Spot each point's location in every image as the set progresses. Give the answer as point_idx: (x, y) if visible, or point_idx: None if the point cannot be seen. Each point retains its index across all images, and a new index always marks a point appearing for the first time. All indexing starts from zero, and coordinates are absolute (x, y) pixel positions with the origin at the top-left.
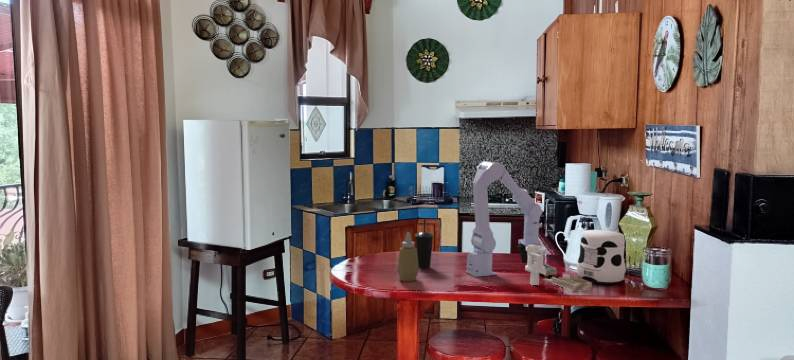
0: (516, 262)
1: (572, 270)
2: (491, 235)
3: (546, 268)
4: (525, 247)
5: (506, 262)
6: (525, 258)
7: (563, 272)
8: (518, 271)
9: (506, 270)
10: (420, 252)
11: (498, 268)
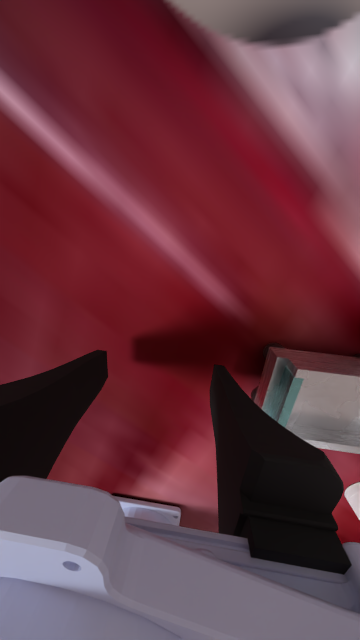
0: (20, 327)
1: (351, 84)
2: None
3: (317, 384)
4: (14, 465)
5: (14, 370)
6: (91, 379)
7: (334, 221)
8: (174, 423)
9: (140, 448)
10: None
11: (102, 452)
